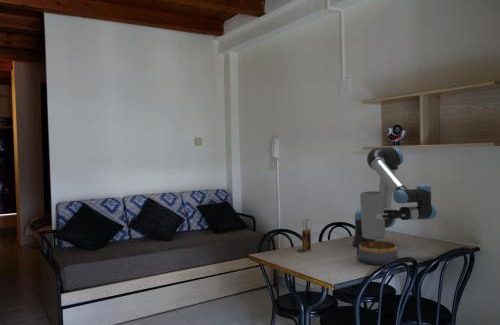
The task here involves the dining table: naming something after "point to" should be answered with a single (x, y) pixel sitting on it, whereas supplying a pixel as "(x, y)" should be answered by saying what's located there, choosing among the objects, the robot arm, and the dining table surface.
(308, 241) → the multimeter
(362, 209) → the cylinder vase
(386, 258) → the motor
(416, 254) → the dining table surface
